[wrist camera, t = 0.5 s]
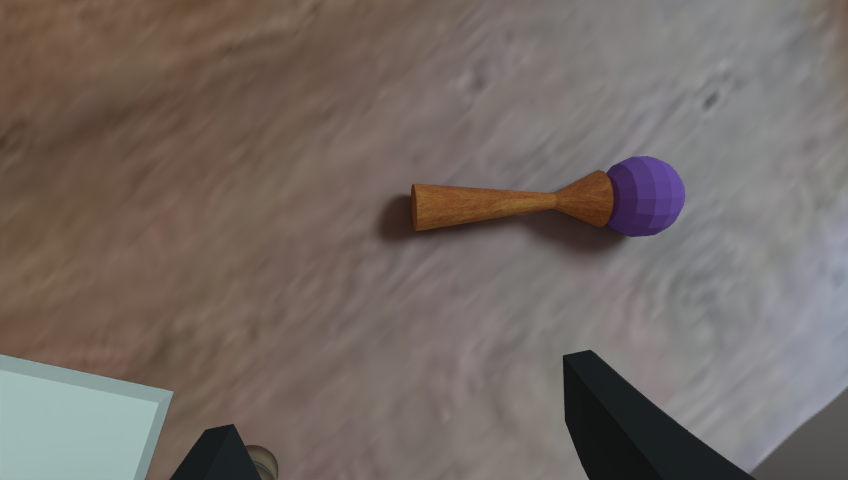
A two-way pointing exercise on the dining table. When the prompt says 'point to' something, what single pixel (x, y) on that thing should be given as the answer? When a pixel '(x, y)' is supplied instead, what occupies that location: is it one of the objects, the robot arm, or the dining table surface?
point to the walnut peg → (263, 462)
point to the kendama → (567, 200)
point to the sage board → (75, 424)
